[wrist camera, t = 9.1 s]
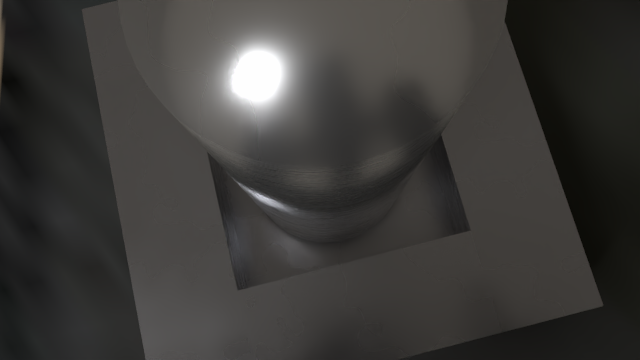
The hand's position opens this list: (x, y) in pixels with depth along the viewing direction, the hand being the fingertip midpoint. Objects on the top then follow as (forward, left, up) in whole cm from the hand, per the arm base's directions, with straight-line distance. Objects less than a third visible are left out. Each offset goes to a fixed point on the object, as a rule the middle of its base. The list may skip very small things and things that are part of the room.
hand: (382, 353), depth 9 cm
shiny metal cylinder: (+5, 0, -8) cm, 9 cm away
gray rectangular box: (+12, 0, -8) cm, 14 cm away
